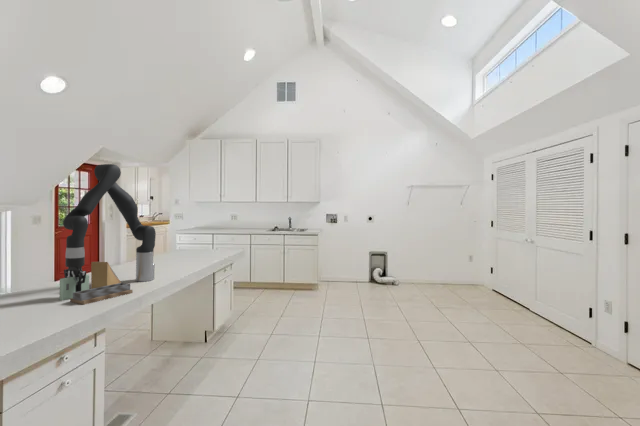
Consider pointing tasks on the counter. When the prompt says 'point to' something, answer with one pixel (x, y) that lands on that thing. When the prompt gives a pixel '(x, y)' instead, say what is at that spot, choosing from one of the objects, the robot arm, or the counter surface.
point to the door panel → (71, 287)
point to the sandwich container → (102, 275)
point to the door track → (100, 293)
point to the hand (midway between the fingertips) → (74, 291)
